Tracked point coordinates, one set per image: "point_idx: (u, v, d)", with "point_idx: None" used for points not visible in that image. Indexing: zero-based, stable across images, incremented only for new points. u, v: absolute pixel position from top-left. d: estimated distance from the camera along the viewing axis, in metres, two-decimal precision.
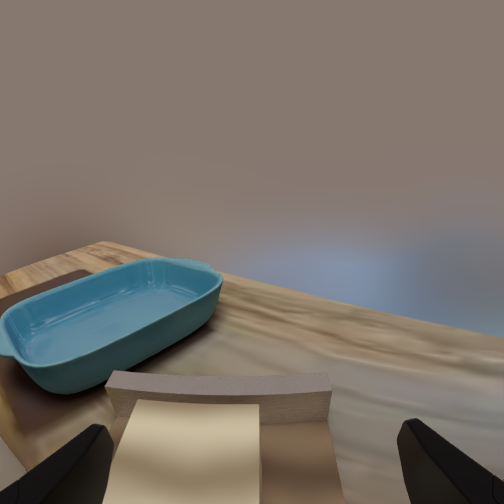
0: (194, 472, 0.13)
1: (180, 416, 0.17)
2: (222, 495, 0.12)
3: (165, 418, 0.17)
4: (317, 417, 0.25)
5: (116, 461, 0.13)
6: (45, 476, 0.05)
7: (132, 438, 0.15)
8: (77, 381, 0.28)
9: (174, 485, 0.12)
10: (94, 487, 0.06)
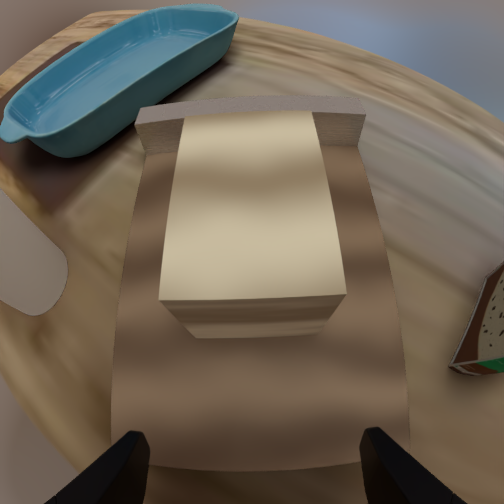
0: (262, 174, 0.16)
1: (235, 124, 0.18)
2: (295, 195, 0.15)
3: (219, 128, 0.18)
4: (348, 142, 0.27)
5: (177, 180, 0.16)
6: (85, 489, 0.05)
7: (189, 153, 0.17)
8: (98, 134, 0.28)
9: (245, 190, 0.16)
10: (134, 496, 0.06)
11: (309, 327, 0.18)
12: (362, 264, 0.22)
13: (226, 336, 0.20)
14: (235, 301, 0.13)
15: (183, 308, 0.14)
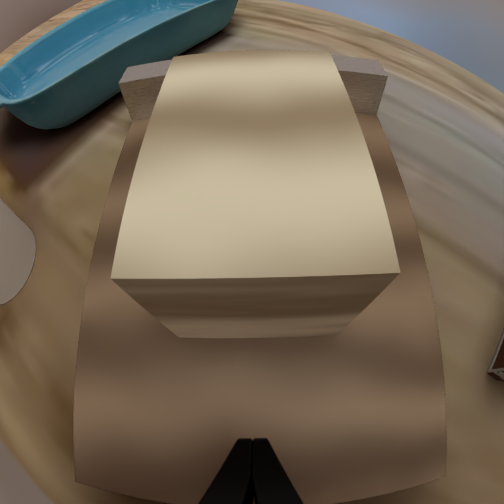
0: (270, 112, 0.11)
1: (235, 61, 0.13)
2: (317, 136, 0.10)
3: (215, 65, 0.13)
4: (367, 108, 0.22)
5: (154, 119, 0.11)
6: None
7: (174, 91, 0.12)
8: (79, 100, 0.23)
9: (247, 128, 0.11)
10: None
11: (330, 325, 0.13)
12: None
13: (218, 336, 0.15)
14: (228, 283, 0.08)
15: (150, 293, 0.09)
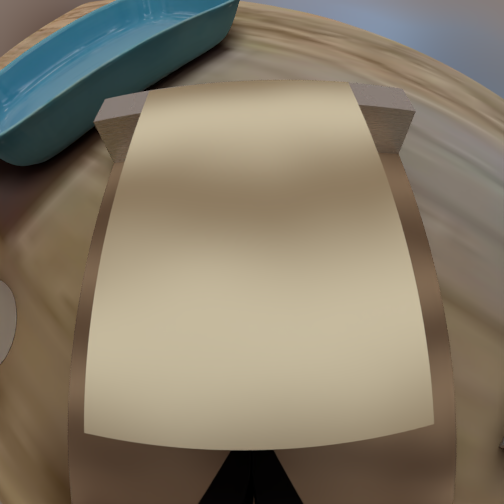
0: (276, 185, 0.08)
1: (227, 98, 0.10)
2: (340, 227, 0.08)
3: (201, 105, 0.10)
4: (388, 147, 0.19)
5: (121, 195, 0.09)
6: None
7: (147, 146, 0.09)
8: (53, 136, 0.20)
9: (244, 215, 0.08)
10: None
11: None
12: None
13: None
14: (226, 447, 0.06)
15: None
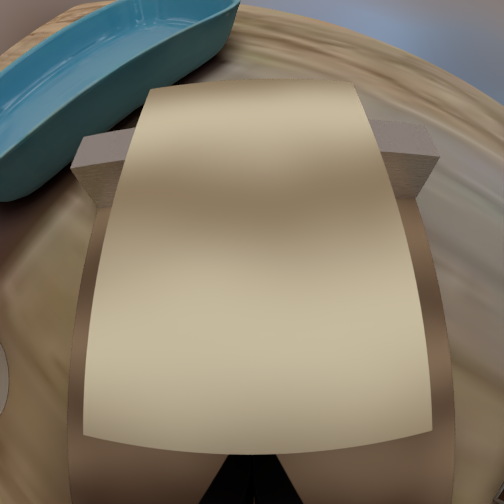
0: (277, 186, 0.08)
1: (229, 97, 0.10)
2: (342, 230, 0.08)
3: (202, 104, 0.10)
4: (405, 193, 0.17)
5: (121, 195, 0.09)
6: None
7: (147, 146, 0.09)
8: (31, 174, 0.18)
9: (244, 218, 0.08)
10: None
11: None
12: None
13: None
14: (224, 451, 0.06)
15: None
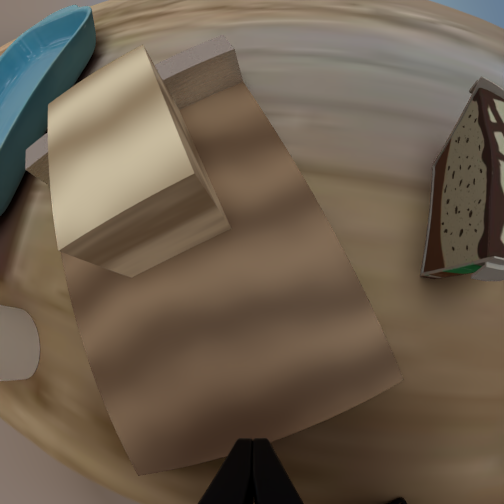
0: (108, 115, 0.15)
1: (84, 88, 0.17)
2: (136, 117, 0.15)
3: (73, 98, 0.17)
4: (231, 82, 0.24)
5: (50, 155, 0.16)
6: None
7: (55, 130, 0.16)
8: (1, 193, 0.24)
9: (98, 134, 0.15)
10: None
11: (211, 223, 0.19)
12: (283, 205, 0.21)
13: (152, 264, 0.21)
14: (111, 223, 0.14)
15: (83, 249, 0.15)
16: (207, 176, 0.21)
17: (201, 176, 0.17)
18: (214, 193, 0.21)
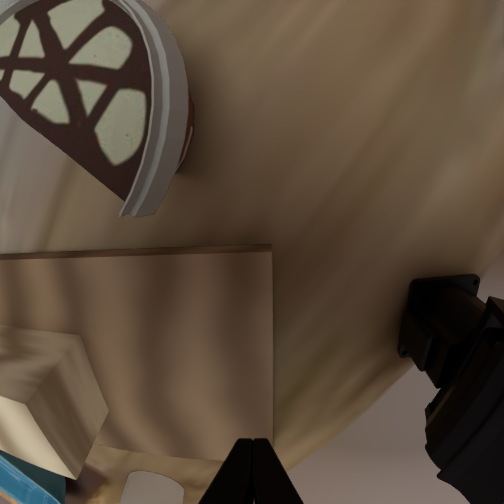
0: None
1: None
2: None
3: None
4: None
5: (13, 454, 0.15)
6: None
7: None
8: None
9: (0, 428, 0.14)
10: None
11: (70, 360, 0.18)
12: (68, 288, 0.19)
13: (99, 397, 0.22)
14: (59, 450, 0.14)
15: (77, 462, 0.16)
16: (36, 336, 0.19)
17: (30, 374, 0.15)
18: (49, 341, 0.19)
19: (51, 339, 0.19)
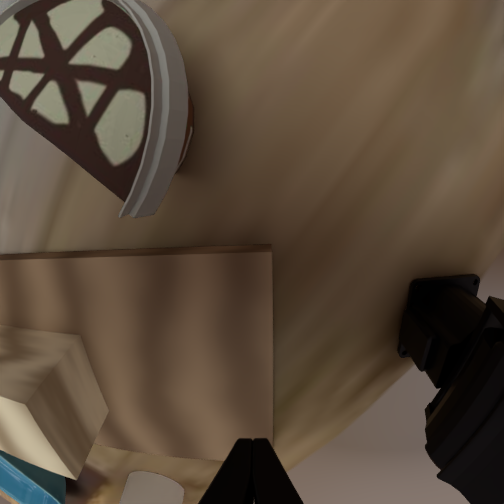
0: None
1: None
2: None
3: None
4: None
5: (14, 455, 0.15)
6: None
7: None
8: None
9: (0, 429, 0.14)
10: None
11: (70, 360, 0.18)
12: (68, 288, 0.19)
13: (99, 397, 0.22)
14: (59, 450, 0.14)
15: (77, 462, 0.16)
16: (36, 336, 0.19)
17: (30, 374, 0.15)
18: (49, 341, 0.19)
19: (51, 339, 0.19)
